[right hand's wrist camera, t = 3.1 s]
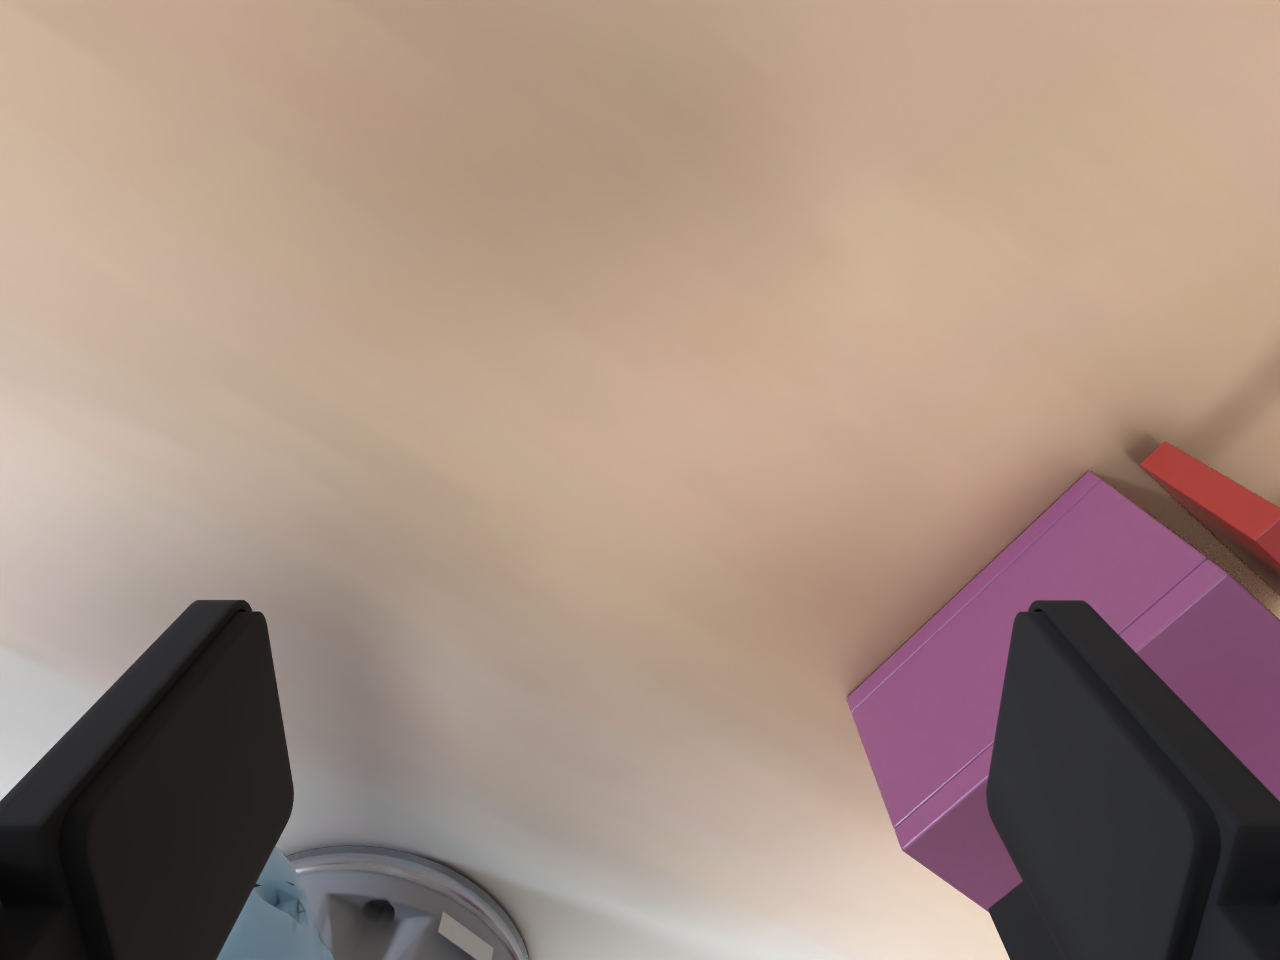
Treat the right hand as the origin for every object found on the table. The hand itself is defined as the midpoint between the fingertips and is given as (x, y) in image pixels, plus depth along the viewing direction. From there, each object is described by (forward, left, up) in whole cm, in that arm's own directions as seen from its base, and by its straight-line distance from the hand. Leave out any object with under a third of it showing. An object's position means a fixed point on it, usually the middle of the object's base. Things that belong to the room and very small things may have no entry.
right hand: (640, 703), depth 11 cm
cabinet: (-2, +22, -23) cm, 31 cm away
